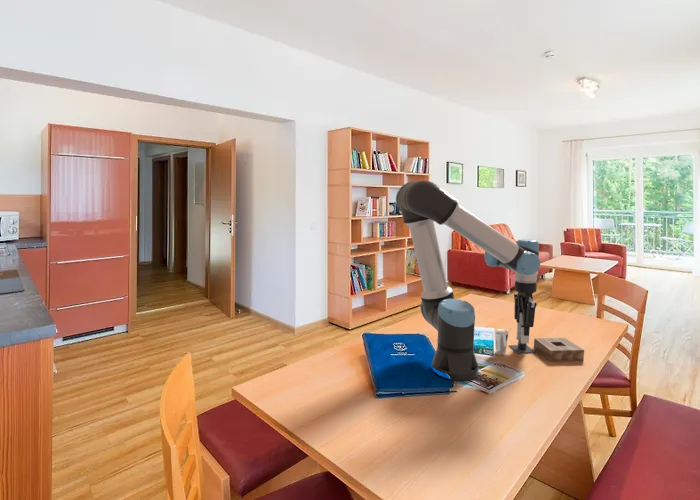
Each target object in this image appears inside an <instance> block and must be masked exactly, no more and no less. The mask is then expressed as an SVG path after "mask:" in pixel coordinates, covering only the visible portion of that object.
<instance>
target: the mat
mask: <svg viewBox="0 0 700 500" xmlns="http://www.w3.org/2000/svg"><path fill="white" fill-rule="evenodd" d="M508 347H509V348H510V349H512V350H513V351H514V352H515V353H516V354H536V352H537V351H536V350H535V349H532V348H531V347H530V346H529V345H527V347H526V350H520V349H518V344H512V345H510V344H509V345H508Z"/></svg>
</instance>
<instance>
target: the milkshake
mask: <svg viewBox="0 0 700 500" xmlns="http://www.w3.org/2000/svg"><path fill="white" fill-rule="evenodd" d="M511 329H512V327H509V330H507V329H504V328H497V329H496V330H495V331H494V334H495V353H496V354H497V355H502V356H503V355H506V353H507V345H508V339H509V338H508V337H509V333H510V331H511Z"/></svg>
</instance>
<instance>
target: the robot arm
mask: <svg viewBox="0 0 700 500" xmlns="http://www.w3.org/2000/svg"><path fill="white" fill-rule="evenodd" d="M459 203H460V202H459V200H458V199H457V198H456V197H454V196H453V195H451V194H450V193H449V192H447V191H446V190H445V189H443V188H442V187H440V186H439V185H438V184H436V183H434V182H432V181H429V180H413V181H408V182H407V183H404V184H402V185H401V186H400V187H399V189H398V191H397V192H396V195H395V204H396V207H397V208H398V210H399V211H400V212H401V217H402V219H403V224H404V225H405V226H407V227H409V231H410V236H411V240H412V245H413V250H414V253H415V258H416V262H417V267H418V271H419V272H418V273H419V276H420V280H421V285H422V288H423V290H422V291H421V293H420V300H421V303H420V313H421V315H422V317H423V318H424V320H425V321H426V322H427V323H428V324H429V325H431V326H432V327H433V328H434V329H435V330H436V331H437V347H436V350H435V353H434V356H433V358H432V361H431V367H432V366H433V367H434V368H435V369H436V370H438V371H440V372H443V373H447V374H448V375H449V376H450V378H451V380H450V381H456V382H457V381H458V382H460V381H461V382H463V381H464V382H465V381H470V380H473V379H475V378H477V377H478V375H479V366H478V361H477V358H476V355H475V351H474V344H475V343H474V342H475V323H476V322H475V321H476V315H475V314H476V313H475V308H474V306H473V305H472V304H471V303H470V302H469V301H466V300H462V299H459V298H455V293H454V290H453V289H452V287H450V286H449V285H448V282H447V278H446V273H445V269H444V264H443V259H442V255H441V251H440V246H439V241H438V235H437V231H436V227H435V223H436V224H438V225H439V226H441V225H445V226H447V227H448V228H449V229H451V230H452V231H454V232H456V233H458V235H460V236H462V238H465V239H467V240H468V241H469V242H471V243H472V244H474V245H475V246H477V247H479V248H480V249H481V250H483V251H484V257H483V258H484V261H485V264H486V265H487V266H488V267H491V268H492V267H493V268H496V267H498V268H499V267H501V268H503V269H507V270H510V271H512V272H514V280H515V281H514V290H515V291H516V292H517V293H514V294H513V297H514V310H513V311H514V316H513V317H514V320H515V321H516V323H517V324H516V340H517V341H518V336H519V318H520V312H523V325H521V327H522V329H521V343H522V344H524V343H527V344H529V343H530V328H533V327H534V325H535V324H534V323H535V315H536V307H537V305H538V304H537V302H536V301H533V300H534V297H533V295H534V294H535V293H536V292H537V288H538V286H537V285H538V283H537V281H538V275H539V269H540V268H541V259H540V257H539V256H540V255H539V254H540V243H539V241H538V240H535V239H530V238H529V239H528V238H527V239H526V238H525V239H524V238H523V239H522V238H521V239H518V240H517V241H516V242H514V241H512V240H511V239H510V238H509V237H506V236H505V235H504V234H502V233H501V232H499V231H498V230H497V229H495V228H493V227H492V226H491V225H489V224H488V223H486V222H485V221H483V220H482V219H481V218H479V217H478V216H476V215H475V214H473V213H472V212H470V211H469V210H467V209H466V208H464V207H463V206H462V205H460V204H459ZM434 222H435V223H434Z"/></svg>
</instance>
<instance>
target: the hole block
mask: <svg viewBox="0 0 700 500" xmlns="http://www.w3.org/2000/svg"><path fill="white" fill-rule="evenodd" d="M533 350H534V351H535V352H537V353H539V354H540V355H541V356H543V357H544V358H545V359H547V360H548V361H549V362H582V361H583V362H584V358H585V349H584V348H582V347H580V345H578V344H575V343H574V342H572V341H571V340H569V339H567V338H566V337H539V338H538V337H535V338H534V340H533Z"/></svg>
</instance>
